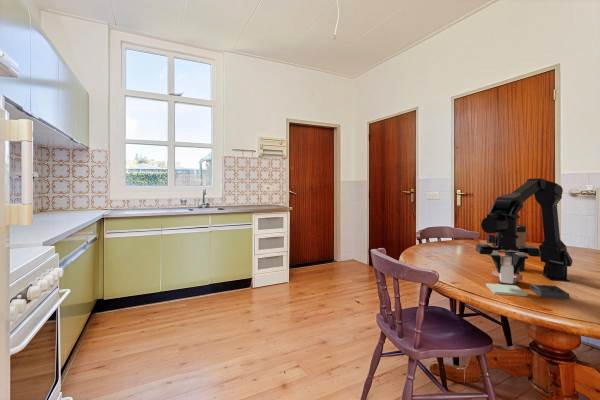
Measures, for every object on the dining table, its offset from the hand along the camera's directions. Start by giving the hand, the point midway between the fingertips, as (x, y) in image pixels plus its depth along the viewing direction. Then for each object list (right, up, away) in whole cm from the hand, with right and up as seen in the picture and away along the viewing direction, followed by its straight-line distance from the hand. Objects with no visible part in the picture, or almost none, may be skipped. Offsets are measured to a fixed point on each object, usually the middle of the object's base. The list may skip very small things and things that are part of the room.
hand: (506, 273), depth 107 cm
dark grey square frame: (+12, -7, -4) cm, 15 cm away
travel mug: (+23, -5, +27) cm, 36 cm away
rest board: (0, -7, 0) cm, 7 cm away
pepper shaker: (0, -3, 0) cm, 3 cm away
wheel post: (+7, -6, +9) cm, 13 cm away
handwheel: (+7, -4, +9) cm, 12 cm away
